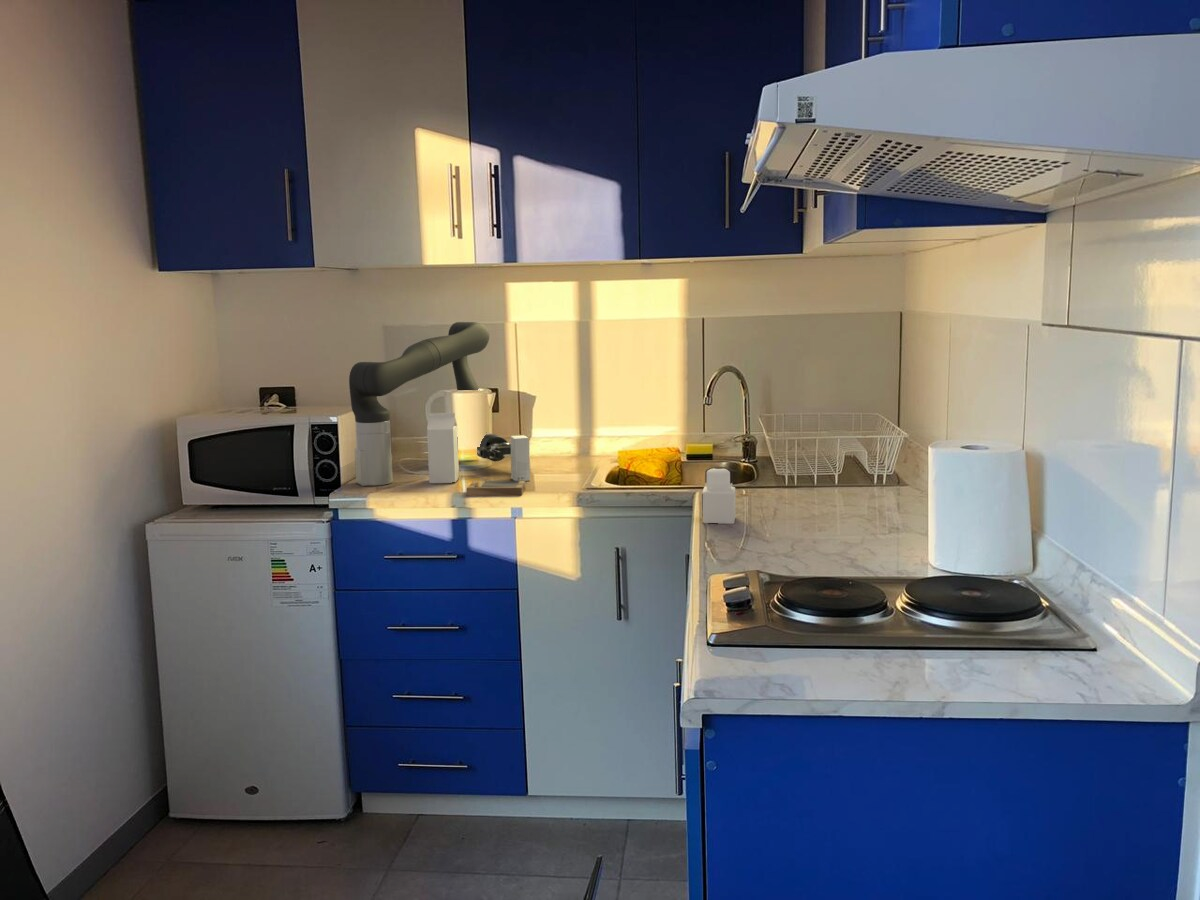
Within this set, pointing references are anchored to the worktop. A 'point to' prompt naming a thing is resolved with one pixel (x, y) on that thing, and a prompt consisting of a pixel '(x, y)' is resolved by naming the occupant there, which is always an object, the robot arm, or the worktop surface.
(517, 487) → the stop dock
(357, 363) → the robot arm
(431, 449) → the milk carton
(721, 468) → the medicine bottle
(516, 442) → the skincare box
